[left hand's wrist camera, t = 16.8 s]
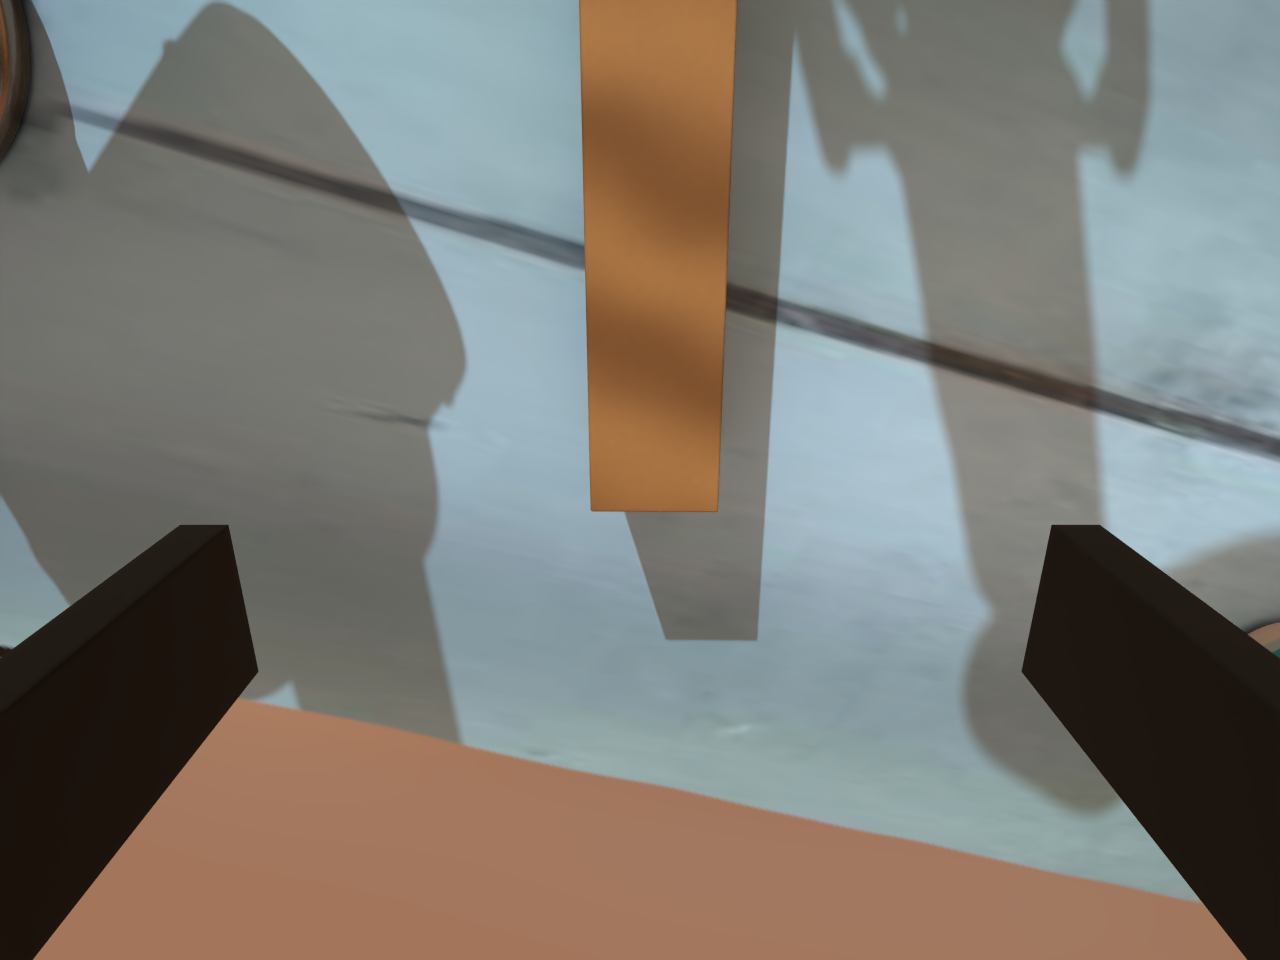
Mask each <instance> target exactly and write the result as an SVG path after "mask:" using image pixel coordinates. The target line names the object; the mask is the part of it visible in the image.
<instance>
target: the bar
mask: <svg viewBox="0 0 1280 960" xmlns="http://www.w3.org/2000/svg"><path fill="white" fill-rule="evenodd" d="M579 15H580V59H581V103H582V147H583V191H584V235H585V279H586V323H587V367H588V411H589V455H590V499H591V511H637V512H717V511H718V496H719V470H720V444H721V418H722V391H723V365H724V339H725V313H726V287H727V260H728V234H729V208H730V182H731V155H732V129H733V103H734V77H735V51H736V24H737V0H579Z"/></svg>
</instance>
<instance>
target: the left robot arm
mask: <svg viewBox="0 0 1280 960" xmlns="http://www.w3.org/2000/svg"><path fill="white" fill-rule="evenodd" d="M29 81H30V48H29V37H28V30H27V24H26V18H25V14H24V10H23V6H22V2H21V0H0V160H1V159H2V157H3V156H4V154H5V153H6V151H7V150H8V148H9V147H10V145H11V143H12V141H13V139H14V137H15V135H16V133H17V131H18V129H19V126H20V123H21V120H22V117H23V114H24V110H25V106H26V101H27V97H28V89H29ZM257 673H258V667H257V662H256V657H255V653H254V648H253V643H252V638H251V633H250V628H249V623H248V618H247V614H246V609H245V604H244V599H243V594H242V589H241V584H240V579H239V575H238V570H237V565H236V560H235V555H234V550H233V545H232V541H231V536H230V531H229V526H228V525H180V526H178V527H177V528H175V529H174V530H173V531H171V532H170V533H169V534H167V535H166V536H165V537H163V538H162V539H161V540H159V541H158V542H157V543H155V544H154V545H153V546H151V547H150V548H148V549H147V550H146V551H144V552H143V553H142V554H140V555H139V556H138V557H136V558H135V559H134V560H132V561H131V562H130V563H128V564H127V565H126V566H124V567H123V568H121V569H120V570H119V571H117V572H116V573H115V574H113V575H112V576H111V577H109V578H108V579H107V580H105V581H104V582H103V583H101V584H100V585H99V586H97V587H96V588H94V589H93V590H92V591H90V592H89V593H88V594H86V595H85V596H84V597H82V598H81V599H80V600H78V601H77V602H76V603H74V604H73V605H72V606H70V607H69V608H67V609H66V610H65V611H63V612H62V613H61V614H59V615H58V616H57V617H55V618H54V619H53V620H51V621H50V622H49V623H47V624H46V625H45V626H43V627H42V628H40V629H39V630H38V631H36V632H35V633H34V634H32V635H31V636H30V637H28V638H27V639H26V640H24V641H23V642H22V643H20V644H19V645H18V646H16V647H15V648H10V647H7V646H1V645H0V960H33V959H34V957H35V956H36V955H37V953H38V952H39V951H40V950H41V948H42V947H43V946H44V945H45V943H46V942H47V941H48V939H49V938H50V937H51V936H52V934H53V933H54V932H55V931H56V929H57V928H58V927H59V925H60V924H61V923H62V922H63V920H64V919H65V918H66V916H67V915H68V914H69V913H70V911H71V910H72V909H73V908H74V906H75V905H76V904H77V902H78V901H79V900H80V899H81V897H82V896H83V895H84V893H85V892H86V891H87V890H88V888H89V887H90V886H91V885H92V883H93V882H94V881H95V879H96V878H97V877H98V876H99V874H100V873H101V872H102V871H103V869H104V868H105V867H106V865H107V864H108V863H109V862H110V860H111V859H112V858H113V857H114V855H115V854H116V853H117V851H118V850H119V849H120V848H121V846H122V845H123V844H124V842H125V841H126V840H127V839H128V837H129V836H130V835H131V834H132V832H133V831H134V830H135V828H136V827H137V826H138V825H139V823H140V822H141V821H142V819H143V818H144V817H145V816H146V814H147V813H148V812H149V811H150V809H151V808H152V807H153V805H154V804H155V803H156V802H157V800H158V799H159V798H160V796H161V795H162V794H163V793H164V791H165V790H166V789H167V788H168V786H169V785H170V784H171V782H172V781H173V780H174V779H175V777H176V776H177V775H178V774H179V772H180V771H181V770H182V768H183V767H184V766H185V765H186V763H187V762H188V761H189V759H190V758H191V757H192V756H193V754H194V753H195V752H196V751H197V749H198V748H199V747H200V745H201V744H202V743H203V742H204V740H205V739H206V738H207V736H208V735H209V734H210V733H211V731H212V730H213V729H214V728H215V726H216V725H217V724H218V722H219V721H220V720H221V719H222V717H223V716H224V715H225V714H226V712H227V711H228V710H229V708H230V707H231V706H232V704H233V703H234V702H235V701H236V699H237V698H238V697H239V696H240V694H241V693H242V692H243V691H244V689H245V688H246V687H247V685H248V684H249V683H250V682H251V680H252V679H253V678H254V677H255V675H256V674H257ZM1022 673H1023V674H1024V675H1025V677H1026V678H1027V679H1028V680H1029V682H1030V683H1031V684H1032V685H1033V687H1034V688H1035V689H1036V691H1037V692H1038V693H1039V694H1040V696H1041V697H1042V698H1043V699H1044V701H1045V702H1046V703H1047V705H1048V706H1049V707H1050V708H1051V710H1052V711H1053V712H1054V714H1055V715H1056V716H1057V717H1058V719H1059V720H1060V721H1061V722H1062V724H1063V725H1064V726H1065V728H1066V729H1067V730H1068V731H1069V733H1070V734H1071V735H1072V737H1073V738H1074V739H1075V740H1076V742H1077V743H1078V744H1079V745H1080V747H1081V748H1082V749H1083V751H1084V752H1085V753H1086V754H1087V756H1088V757H1089V758H1090V759H1091V761H1092V762H1093V763H1094V765H1095V766H1096V767H1097V768H1098V770H1099V771H1100V772H1101V774H1102V775H1103V776H1104V777H1105V779H1106V780H1107V781H1108V782H1109V784H1110V785H1111V786H1112V788H1113V789H1114V790H1115V791H1116V793H1117V794H1118V795H1119V797H1120V798H1121V799H1122V800H1123V802H1124V803H1125V804H1126V805H1127V807H1128V808H1129V809H1130V811H1131V812H1132V813H1133V814H1134V816H1135V817H1136V818H1137V819H1138V821H1139V822H1140V823H1141V825H1142V826H1143V827H1144V828H1145V830H1146V831H1147V832H1148V834H1149V835H1150V836H1151V837H1152V839H1153V840H1154V841H1155V842H1156V844H1157V845H1158V846H1159V848H1160V849H1161V850H1162V851H1163V853H1164V854H1165V855H1166V857H1167V858H1168V859H1169V860H1170V862H1171V863H1172V864H1173V865H1174V867H1175V868H1176V869H1177V871H1178V872H1179V873H1180V874H1181V876H1182V877H1183V878H1184V879H1185V881H1186V882H1187V883H1188V885H1189V886H1190V887H1191V888H1192V890H1193V891H1194V892H1195V894H1196V895H1197V896H1198V897H1199V899H1200V900H1201V901H1202V902H1203V904H1204V905H1205V906H1206V908H1207V909H1208V910H1209V911H1210V913H1211V914H1212V915H1213V916H1214V918H1215V919H1216V920H1217V922H1218V923H1219V924H1220V925H1221V927H1222V928H1223V929H1224V931H1225V932H1226V933H1227V934H1228V936H1229V937H1230V938H1231V939H1232V941H1233V942H1234V943H1235V945H1236V946H1237V947H1238V948H1239V950H1240V951H1241V952H1242V953H1243V955H1244V956H1245V957H1246V959H1247V960H1280V658H1279V657H1277V656H1276V655H1275V654H1273V653H1272V652H1271V651H1269V650H1268V649H1267V648H1265V647H1264V646H1262V645H1261V644H1260V643H1258V642H1257V641H1256V640H1254V639H1253V638H1252V637H1250V636H1249V635H1248V634H1246V633H1245V632H1244V631H1242V630H1241V629H1240V628H1238V627H1237V626H1235V625H1234V624H1233V623H1231V622H1230V621H1229V620H1227V619H1226V618H1225V617H1223V616H1222V615H1221V614H1219V613H1218V612H1217V611H1215V610H1214V609H1213V608H1211V607H1210V606H1208V605H1207V604H1206V603H1204V602H1203V601H1202V600H1200V599H1199V598H1198V597H1196V596H1195V595H1194V594H1192V593H1191V592H1190V591H1188V590H1187V589H1186V588H1184V587H1183V586H1181V585H1180V584H1179V583H1177V582H1176V581H1175V580H1173V579H1172V578H1171V577H1169V576H1168V575H1167V574H1165V573H1164V572H1163V571H1161V570H1160V569H1159V568H1157V567H1156V566H1154V565H1153V564H1152V563H1150V562H1149V561H1148V560H1146V559H1145V558H1144V557H1142V556H1141V555H1140V554H1138V553H1137V552H1136V551H1134V550H1133V549H1132V548H1130V547H1129V546H1127V545H1126V544H1125V543H1123V542H1122V541H1121V540H1119V539H1118V538H1117V537H1115V536H1114V535H1113V534H1111V533H1110V532H1109V531H1107V530H1106V529H1105V528H1103V527H1102V526H1100V525H1052V526H1051V531H1050V536H1049V540H1048V545H1047V550H1046V555H1045V560H1044V565H1043V570H1042V575H1041V579H1040V584H1039V589H1038V594H1037V599H1036V604H1035V609H1034V614H1033V618H1032V623H1031V628H1030V633H1029V638H1028V643H1027V648H1026V653H1025V657H1024V662H1023V667H1022Z"/></svg>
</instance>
